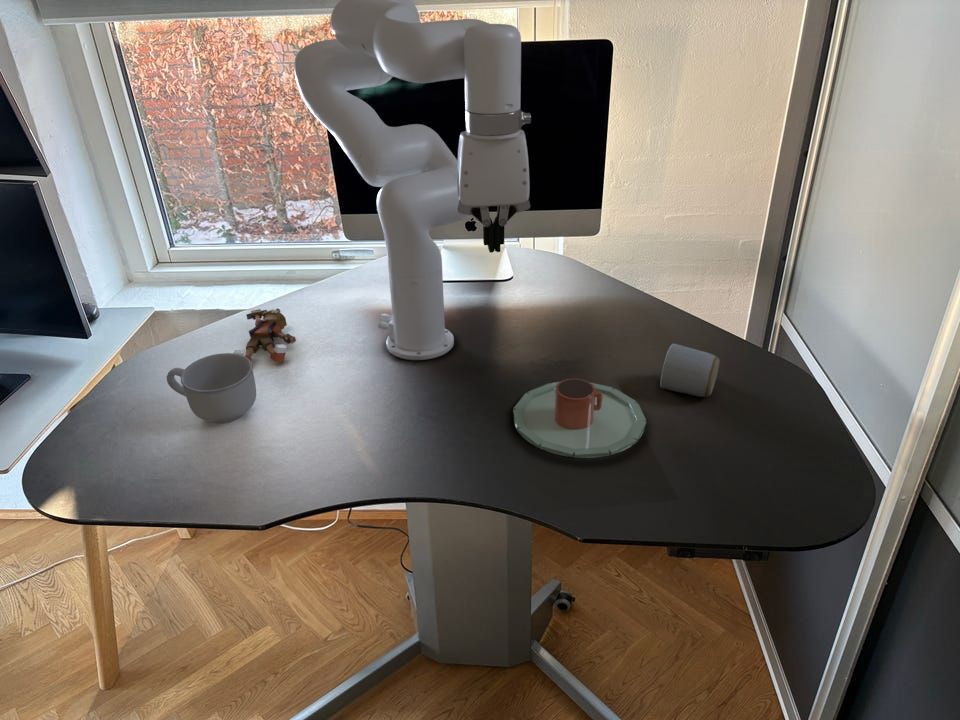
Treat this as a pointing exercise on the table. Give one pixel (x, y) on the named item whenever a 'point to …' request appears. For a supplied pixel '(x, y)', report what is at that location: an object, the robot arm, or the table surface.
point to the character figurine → (267, 334)
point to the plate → (604, 437)
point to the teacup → (217, 386)
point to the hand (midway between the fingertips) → (493, 248)
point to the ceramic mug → (689, 371)
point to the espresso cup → (576, 403)
